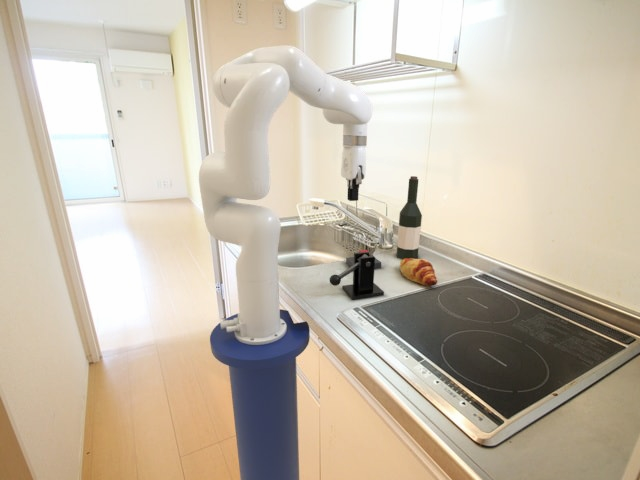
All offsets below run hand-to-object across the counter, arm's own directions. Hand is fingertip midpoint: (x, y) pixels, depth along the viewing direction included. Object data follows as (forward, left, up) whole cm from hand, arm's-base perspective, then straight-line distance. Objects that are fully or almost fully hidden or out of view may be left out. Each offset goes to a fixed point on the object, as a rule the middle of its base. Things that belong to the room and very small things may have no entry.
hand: (352, 200), depth 120 cm
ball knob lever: (-9, -22, -17) cm, 29 cm away
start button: (+4, -2, -19) cm, 20 cm away
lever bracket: (-5, -22, -23) cm, 32 cm away
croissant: (+17, -17, -23) cm, 33 cm away
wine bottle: (+24, +2, -23) cm, 34 cm away
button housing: (+4, -2, -23) cm, 24 cm away
